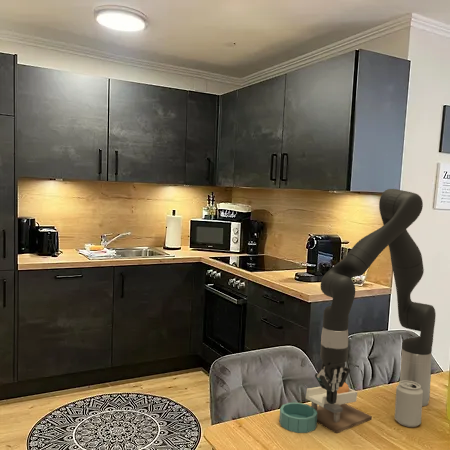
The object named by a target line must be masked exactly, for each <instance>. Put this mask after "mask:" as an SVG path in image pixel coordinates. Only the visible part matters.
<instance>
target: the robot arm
mask: <svg viewBox="0 0 450 450" xmlns="http://www.w3.org/2000/svg"><path fill="white" fill-rule="evenodd" d="M423 205H424V204H423V199H422V197H421V196H420V195H419V194H418V193H415V192H412V191H408V190H401V189H397V188H396V189H395V188H388V189H386V190H384V191H383V192H382V194H381V196H380V198H379V203H378V207H379V214H380V218H381V221H382V224H383V225H382V226H381V227H380V228H379V227H378V229H376V230H374V231H372V232H370V233H368V234H367V235H366V236H363V237H362V238H361V239H359V240H358V241H356V243H355V244H354V245H353V247H352V248H351V249H350V250H349V251H348V253H347V254H346V255H345V256H344V258H343V259H342V260H340V261H339V262H337V263H336V264H335V265H333V266H332V267H331V268H330V269H328V271H326V273H325V274H324V275H323V277H322V278H321V280H320V290H321V292H322V294H324V295H325V296H327V297H329V298H332V300H331V301H332V302H331V304H330V306H326V307H325V308H324V310H323V319H322V330H321V338H320V340H321V341H320V356H319V357H320V359H321V361H322V364H321V366H320V369H321V370H320V371H319V373H318V372H315V374H314V377H315V379H316V381H317V382H318V384H319V387H322V388H323V389H326V390H327V396H326V400H327V402H328V403H330V404H334V403H336V399H337V391H338V389H339V387H342V386H343V384H344V382H345V383H346V379H348V376H349V374H350V372H351V368H349V367H346V362H347V361H348V353H349V315H350V312H351V309H352V307H353V303H354V300H355V296H356V286H355V282H354V280H353V278H357V277H361V276H363V275H364V274H365V273H366V272H367V270H369V268H370V267H371V265H373V263H374V262H375V261H376V259H377V258H378V257H379V255H380V254H381V253H383V251H384V250H385V249H386V248H387V247H388V249H389V254H390V262H391V268H392V272H393V277H394V282H395V283H394V285H395V289H396V290H395V291H396V297H397V299H396V301H397V314H398V322H399V324H400V325H401V327H402V328H404V329H407V330H413V331H417V332H420V334H419V336H416V337H409V338H405V339H403V340H402V344H401V358H400V359H401V362H400V374H399V375H400V376H399V377H400V378H399V382H400V381H404V380H407V381H413V382H416V383H418V384H420V386H421V389H422V390H423V399H422V407H425V406H428V405H429V402H430V396H431V394H430V393H431V382H432V381H431V379H432V373H431V368H432V367H431V366H432V354H433V353H432V351H433V343H434V334H435V332H434V331H435V325H436V309H435V307H434V305H431V304H427V303H421V302H416V301H412V298H411V294H412V293H413V290H414V289H415V287H416V286H417V285H418V284H419V283H420V281H421V280H422V277H423V276H424V272H425V271H424V270H425V269H424V262H423V256H422V253H421V250H420V248H419V245H417V243H416V242H415V241H414V239H413V238H412V236H411V234H410V233H409V232H408V230H407V229H408V228H409V227H410V226H411V225H413V224H414V223H415V221H416V220H417V219H418V218H419V216H420V215H421V213H422V211H423Z"/></svg>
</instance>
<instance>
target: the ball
mask: <svg viewBox="0 0 450 450" xmlns="http://www.w3.org/2000/svg"><path fill="white" fill-rule="evenodd" d="M349 388H350V387H349V385H348V383H346V381H345V382H344V384H343V386H342V387H339V389H338V391H337V393H338V394H340V393H346V392H349Z"/></svg>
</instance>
